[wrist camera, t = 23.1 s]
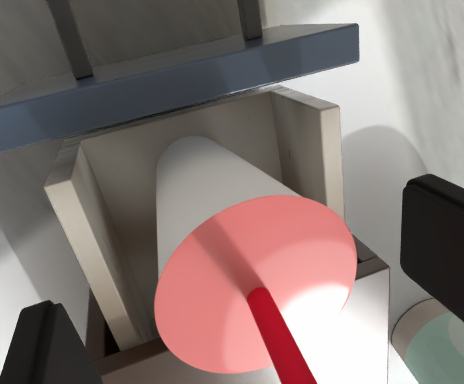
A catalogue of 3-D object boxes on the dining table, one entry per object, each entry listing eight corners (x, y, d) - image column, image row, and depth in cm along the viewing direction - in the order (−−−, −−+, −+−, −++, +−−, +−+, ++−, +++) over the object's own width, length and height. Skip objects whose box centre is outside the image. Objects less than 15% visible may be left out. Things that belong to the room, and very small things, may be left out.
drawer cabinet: (91, 261, 19) (80, 383, 13) (305, 193, 22) (390, 266, 15) (163, 422, 26) (181, 558, 19) (321, 357, 28) (386, 458, 22)
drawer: (-43, -64, 12) (-152, -129, 7) (269, -110, 14) (355, -186, 9) (126, 324, 21) (132, 420, 16) (308, 259, 23) (365, 326, 18)
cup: (109, 189, 16) (106, 491, 6) (178, 88, 15) (327, 220, 5) (205, 239, 19) (326, 514, 8) (269, 154, 18) (498, 338, 7)
